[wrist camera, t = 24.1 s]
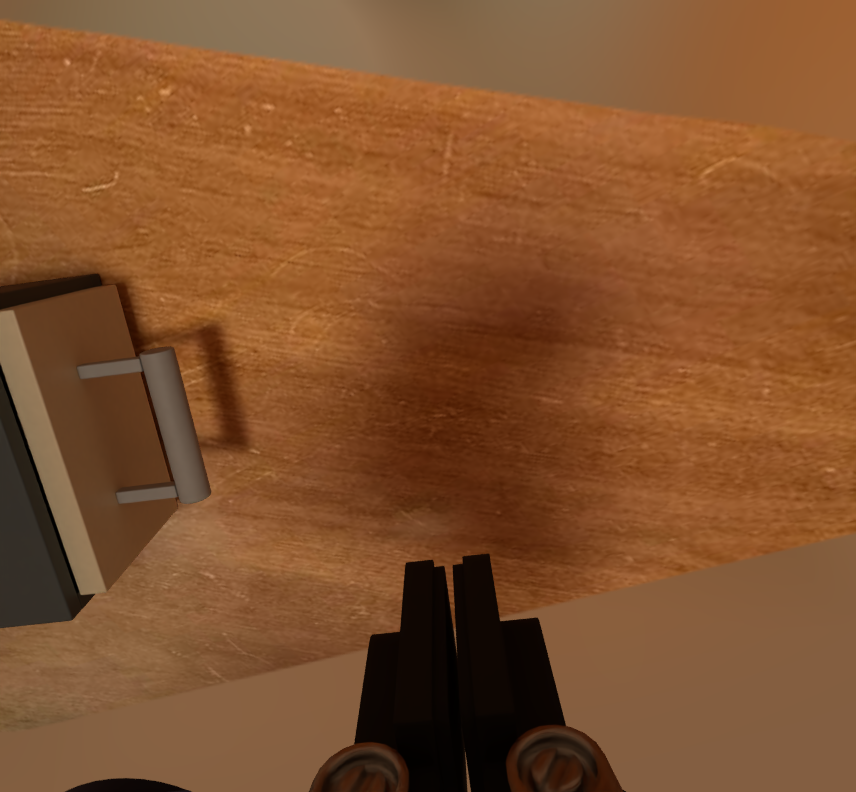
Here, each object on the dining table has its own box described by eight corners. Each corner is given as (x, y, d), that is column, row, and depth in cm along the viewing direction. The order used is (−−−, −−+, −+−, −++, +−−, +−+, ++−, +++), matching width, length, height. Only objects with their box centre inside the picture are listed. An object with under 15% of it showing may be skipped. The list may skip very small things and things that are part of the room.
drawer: (199, 272, 30) (121, 295, 23) (252, 499, 34) (201, 582, 26) (-143, 318, 31) (-326, 354, 23) (-54, 534, 34) (-188, 625, 27)
